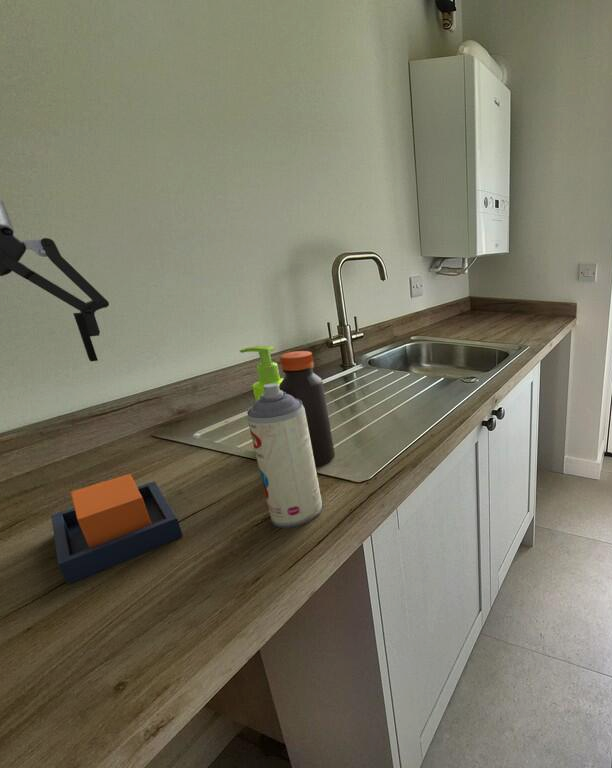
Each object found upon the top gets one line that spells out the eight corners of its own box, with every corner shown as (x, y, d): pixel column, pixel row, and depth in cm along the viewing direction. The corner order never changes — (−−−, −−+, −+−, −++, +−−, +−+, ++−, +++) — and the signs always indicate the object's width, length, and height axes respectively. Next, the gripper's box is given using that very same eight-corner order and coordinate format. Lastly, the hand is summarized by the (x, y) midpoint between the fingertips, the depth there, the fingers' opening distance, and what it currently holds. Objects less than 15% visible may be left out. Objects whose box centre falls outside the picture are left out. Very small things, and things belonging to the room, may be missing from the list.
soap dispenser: (272, 438, 83) (251, 343, 77) (305, 438, 83) (287, 343, 77) (254, 452, 78) (230, 350, 71) (290, 452, 78) (269, 351, 71)
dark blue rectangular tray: (59, 533, 56) (51, 514, 55) (160, 497, 64) (154, 480, 63) (67, 585, 48) (58, 564, 47) (183, 536, 56) (177, 518, 55)
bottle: (291, 457, 76) (270, 353, 70) (330, 447, 80) (313, 347, 73) (298, 472, 71) (276, 362, 64) (339, 461, 75) (321, 355, 68)
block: (84, 525, 56) (70, 491, 54) (141, 505, 61) (129, 473, 59) (92, 556, 51) (77, 519, 49) (154, 532, 55) (142, 497, 53)
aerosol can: (273, 505, 62) (244, 381, 55) (322, 494, 65) (300, 374, 58) (269, 533, 56) (236, 397, 50) (323, 519, 59) (298, 389, 52)
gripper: (-289, 176, 35) (-160, 402, 43) (104, 200, 53) (149, 356, 60) (-255, 182, 40) (-143, 385, 47) (96, 202, 58) (139, 347, 65)
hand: (21, 369), depth 54 cm, fingers open, 13 cm apart
